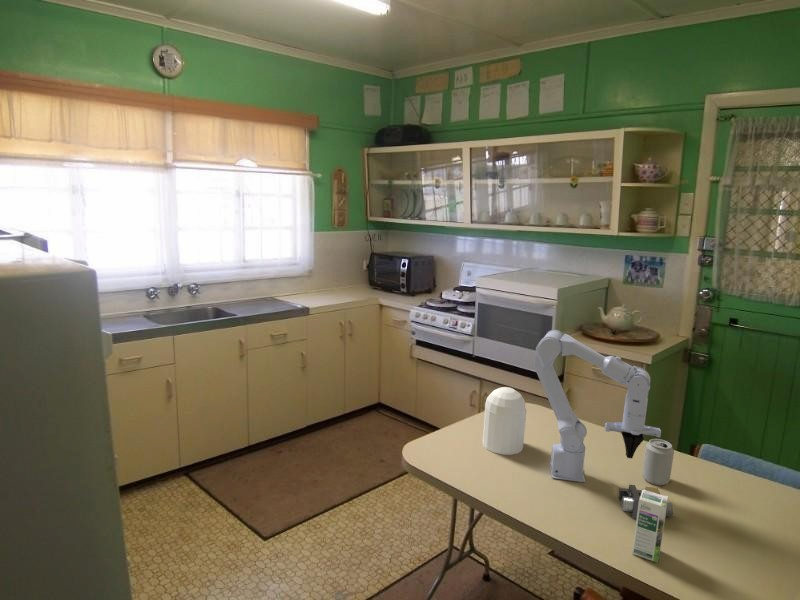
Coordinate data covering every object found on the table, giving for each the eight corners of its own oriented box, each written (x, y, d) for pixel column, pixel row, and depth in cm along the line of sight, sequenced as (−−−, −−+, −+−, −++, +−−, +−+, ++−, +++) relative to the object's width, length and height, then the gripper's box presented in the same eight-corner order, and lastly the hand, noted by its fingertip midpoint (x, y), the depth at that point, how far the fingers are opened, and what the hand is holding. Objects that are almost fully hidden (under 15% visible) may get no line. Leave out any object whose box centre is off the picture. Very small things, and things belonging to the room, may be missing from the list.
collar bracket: (625, 517, 142) (628, 498, 141) (617, 497, 152) (620, 478, 151) (666, 523, 140) (669, 503, 139) (655, 502, 150) (658, 483, 149)
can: (672, 488, 157) (678, 450, 155) (644, 484, 159) (650, 447, 156) (665, 475, 164) (670, 438, 162) (639, 472, 166) (644, 435, 163)
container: (474, 445, 179) (478, 388, 175) (494, 432, 190) (498, 378, 185) (511, 459, 171) (516, 399, 167) (529, 444, 182) (535, 388, 177)
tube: (623, 513, 144) (625, 501, 143) (620, 505, 147) (622, 493, 147) (672, 520, 142) (674, 507, 141) (667, 511, 145) (669, 499, 144)
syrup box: (631, 554, 128) (638, 499, 125) (635, 541, 133) (642, 487, 130) (657, 563, 125) (666, 507, 122) (660, 549, 130) (668, 495, 127)
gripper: (610, 415, 149) (604, 460, 152) (666, 420, 147) (660, 466, 149) (605, 405, 156) (600, 448, 159) (659, 410, 153) (653, 454, 156)
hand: (629, 456), depth 155 cm, fingers closed
